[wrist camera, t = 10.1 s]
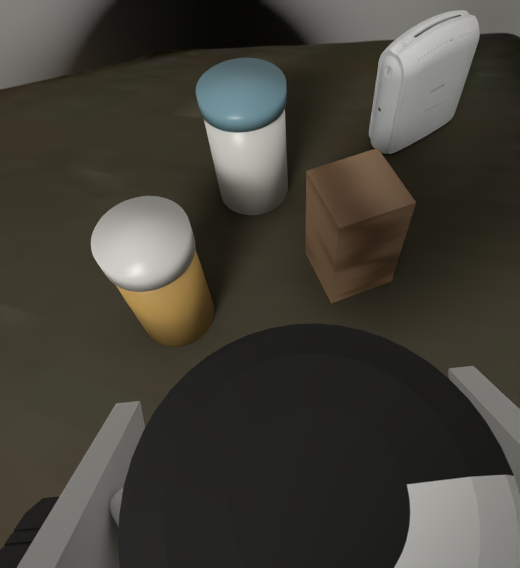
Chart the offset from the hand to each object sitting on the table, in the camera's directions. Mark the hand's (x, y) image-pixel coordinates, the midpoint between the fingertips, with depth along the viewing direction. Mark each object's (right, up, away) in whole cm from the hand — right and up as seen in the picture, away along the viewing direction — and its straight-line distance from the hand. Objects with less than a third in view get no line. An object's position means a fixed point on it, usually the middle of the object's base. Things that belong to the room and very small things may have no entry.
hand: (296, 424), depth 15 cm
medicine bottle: (+1, -5, +2) cm, 5 cm away
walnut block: (+7, +6, +30) cm, 31 cm away
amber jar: (-9, +2, +29) cm, 30 cm away
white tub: (-2, +15, +36) cm, 38 cm away
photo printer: (+16, +22, +38) cm, 47 cm away
